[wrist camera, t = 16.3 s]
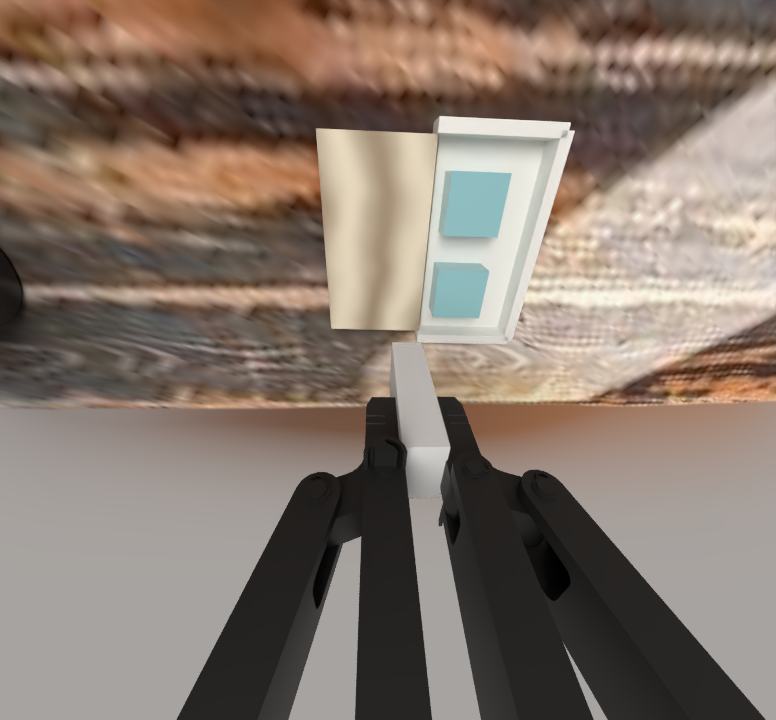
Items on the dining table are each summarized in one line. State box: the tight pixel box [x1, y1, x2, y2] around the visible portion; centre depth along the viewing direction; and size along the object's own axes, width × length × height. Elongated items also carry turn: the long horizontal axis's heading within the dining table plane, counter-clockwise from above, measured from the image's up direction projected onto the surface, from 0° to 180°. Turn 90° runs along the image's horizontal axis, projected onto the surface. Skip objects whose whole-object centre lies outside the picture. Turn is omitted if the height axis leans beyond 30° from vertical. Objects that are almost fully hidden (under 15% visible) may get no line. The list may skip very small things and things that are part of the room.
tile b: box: [429, 262, 489, 318], centre depth 31 cm, size 5×5×3 cm
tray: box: [415, 116, 575, 344], centre depth 29 cm, size 11×20×3 cm, turn 178°
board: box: [316, 129, 438, 331], centre depth 29 cm, size 10×18×2 cm, turn 178°
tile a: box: [438, 171, 512, 238], centre depth 27 cm, size 5×5×3 cm
